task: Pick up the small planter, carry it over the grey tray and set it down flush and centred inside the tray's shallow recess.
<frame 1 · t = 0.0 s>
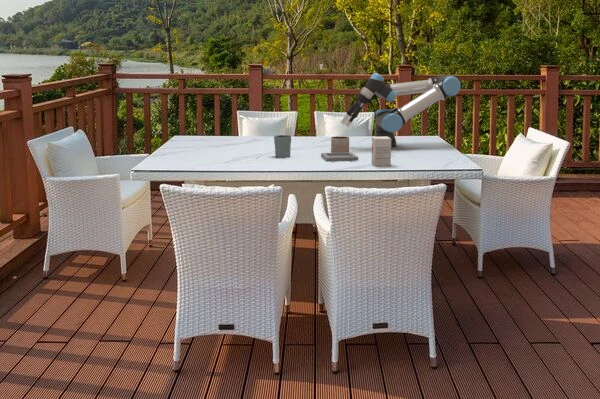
hand: (344, 124, 440), 15 cm above the table, tool tilted 35°, fingers open, 13 cm apart
planter: (340, 153, 428), on the table
grey cup: (282, 156, 417), on the table
supplement box: (380, 165, 388), on the table
grey tray: (339, 158, 409), on the table
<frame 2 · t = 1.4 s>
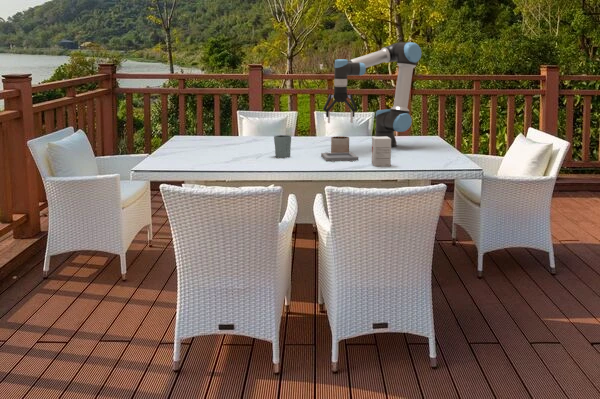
hand: (340, 122, 424), 18 cm above the table, tool pointing down, fingers open, 13 cm apart
nothing on the table moved.
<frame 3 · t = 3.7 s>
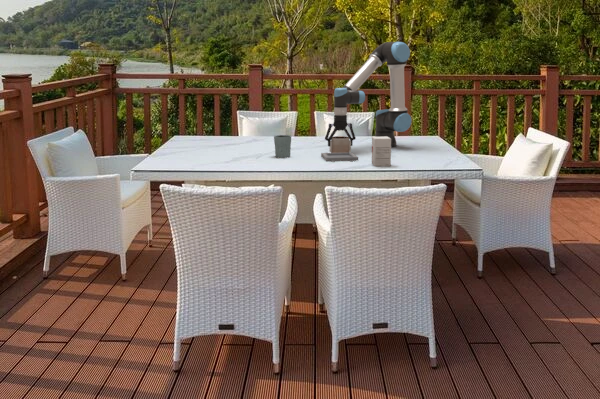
hand: (340, 151, 428), 1 cm above the table, tool pointing down, fingers closed on planter, 11 cm apart
planter: (340, 153, 428), on the table, touching gripper
everything else where it was.
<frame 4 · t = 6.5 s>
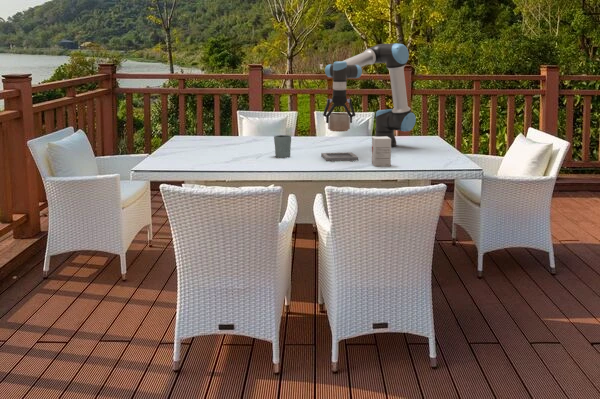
hand: (338, 128, 407), 17 cm above the table, tool pointing down, fingers closed on planter, 11 cm apart
planter: (338, 131, 408), point 15 cm above the table, touching gripper
everything else where it was.
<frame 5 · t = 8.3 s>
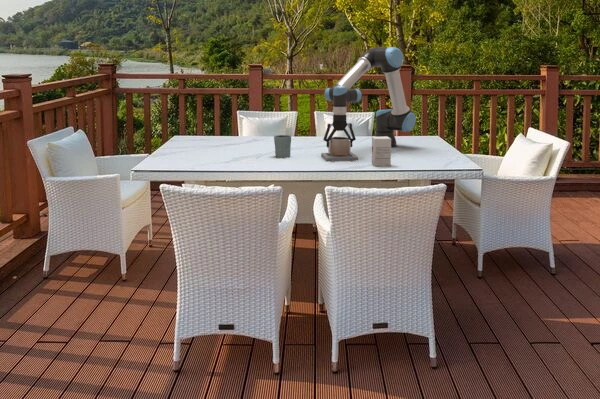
hand: (339, 153, 409), 3 cm above the table, tool pointing down, fingers closed on planter, 11 cm apart
planter: (339, 155, 409), point 2 cm above the table, touching gripper
everything else where it was.
when the fingers open (3 cm above the table, at t = 9.6 s): planter stays where it is, resting on grey tray.
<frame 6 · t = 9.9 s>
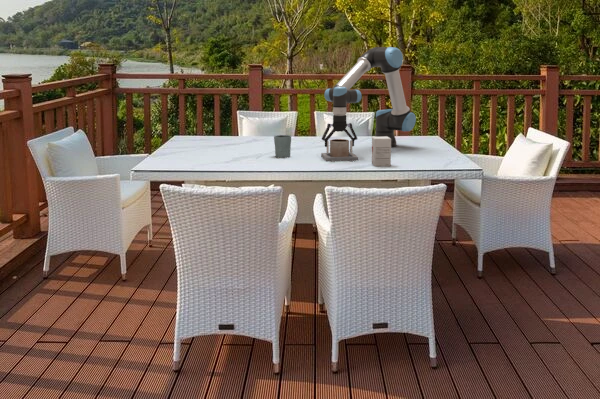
hand: (339, 152, 409), 3 cm above the table, tool pointing down, fingers open, 13 cm apart
planter: (339, 157, 409), point 1 cm above the table, touching grey tray
everything else where it was.
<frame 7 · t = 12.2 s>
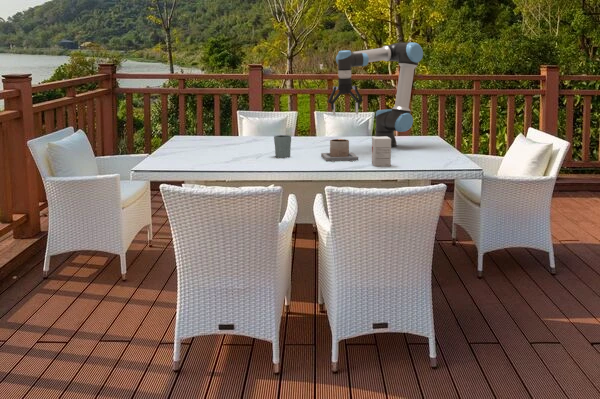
hand: (345, 114, 422), 23 cm above the table, tool pointing down, fingers open, 13 cm apart
nothing on the table moved.
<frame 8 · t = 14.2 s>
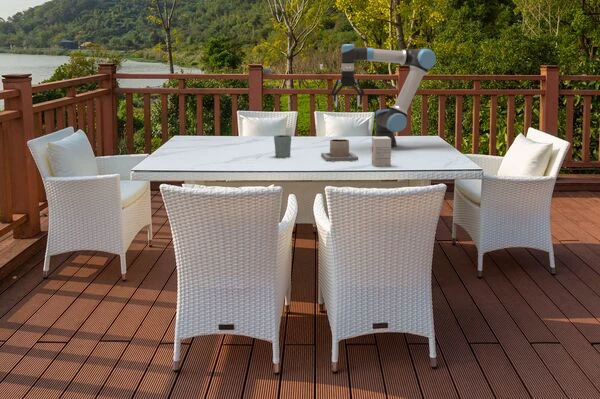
hand: (347, 106, 433), 27 cm above the table, tool pointing down, fingers open, 13 cm apart
nothing on the table moved.
at the end: planter 0.0 cm off-centre on the grey tray, point 0.6 cm above the grey tray's base; planter tilted 0°; the gripper is holding nothing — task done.
